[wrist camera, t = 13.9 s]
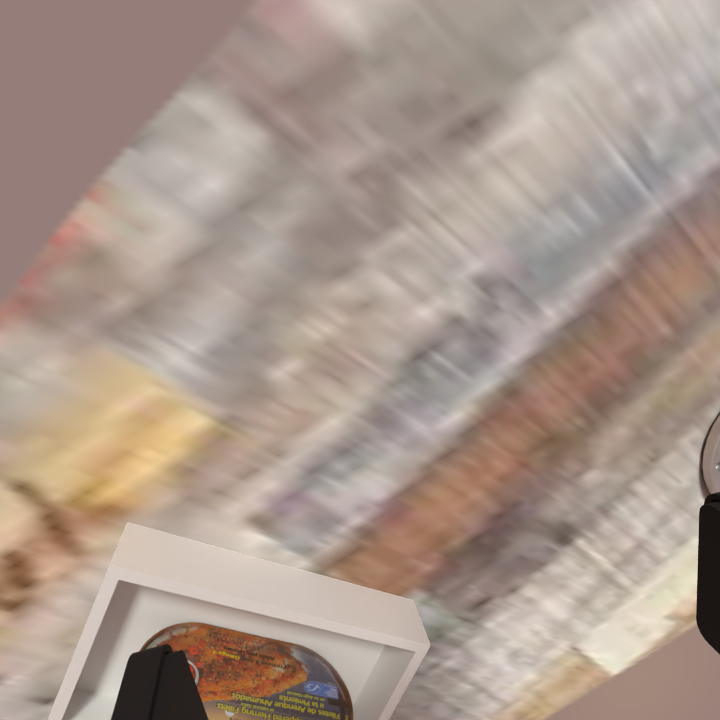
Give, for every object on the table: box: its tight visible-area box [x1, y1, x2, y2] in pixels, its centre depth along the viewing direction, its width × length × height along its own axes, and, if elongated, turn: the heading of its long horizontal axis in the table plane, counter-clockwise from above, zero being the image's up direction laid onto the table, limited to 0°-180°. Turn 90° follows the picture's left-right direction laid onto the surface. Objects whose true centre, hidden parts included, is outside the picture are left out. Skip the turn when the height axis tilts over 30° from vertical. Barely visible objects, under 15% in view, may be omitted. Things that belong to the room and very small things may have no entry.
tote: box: [48, 522, 431, 720], centre depth 38 cm, size 22×14×4 cm, turn 65°
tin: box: [140, 622, 353, 720], centre depth 35 cm, size 15×3×8 cm, turn 65°
